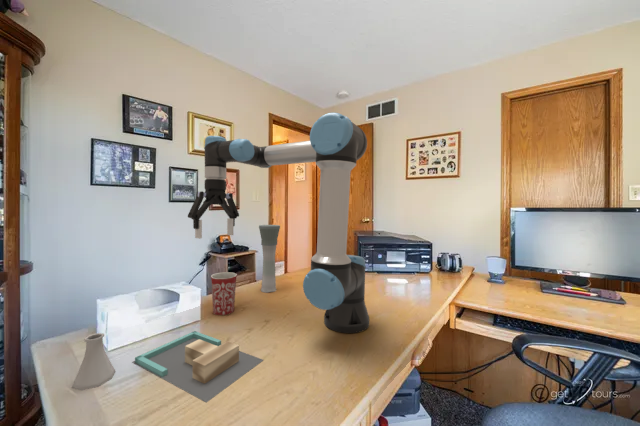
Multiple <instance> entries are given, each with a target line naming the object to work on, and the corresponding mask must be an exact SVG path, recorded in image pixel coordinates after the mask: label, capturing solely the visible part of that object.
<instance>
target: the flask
mask: <svg viewBox="0 0 640 426" xmlns="http://www.w3.org/2000/svg"><path fill="white" fill-rule="evenodd" d="M104 337H105V333H102V332H99V333H93V334H92V333H91V334H89V335H88V336H86V337H85V338H84V340H83V341H84V342H85V345H86V347H85V348H86V349H85V351H84V357H83V360H82V361H81V364H80V367H79V369H78V372H77V374H76V376H75V379H74V381H73V383H72V385H71V389H75V390H79V391H85V390H86V391H87V390H90V389H95V388H99V387H101V386H102V385H104V384H105V383H107V382H109V381H110V380H112V379H113V378H114V375H115V374H116V372H117V371H116V369H115V368H114V365H113V364H112V362H111V360H110V358H109V356H108V354H107V353H106V351H105V348H104V343H103V339H104Z"/></svg>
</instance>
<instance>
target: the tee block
mask: <svg viewBox="0 0 640 426" xmlns="http://www.w3.org/2000/svg"><path fill="white" fill-rule="evenodd" d="M239 351H240V345H239V344H237V343H234V342H232V341H229V340H227V341H226V342H223V343H221V345H220V346H216V345H213V344H211V343H208V342H206V341H203V340H200V339H199V340H196V341H194V342H192V343H190V344H188V345H186V346H185V362H186V363H188V364H190V365H192V366H193V378H194V379H196V380H198V381H200V382H202V383H204V384H205V383H207V382H208V381H210V380H211V379H213V378H214V377H216V376H217V375H219V374H220V373H222V372H223V371H225V370H226V369H228V368H229V367H231V366H232V365H234V364H235V363H237V362H238V361H239Z"/></svg>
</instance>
